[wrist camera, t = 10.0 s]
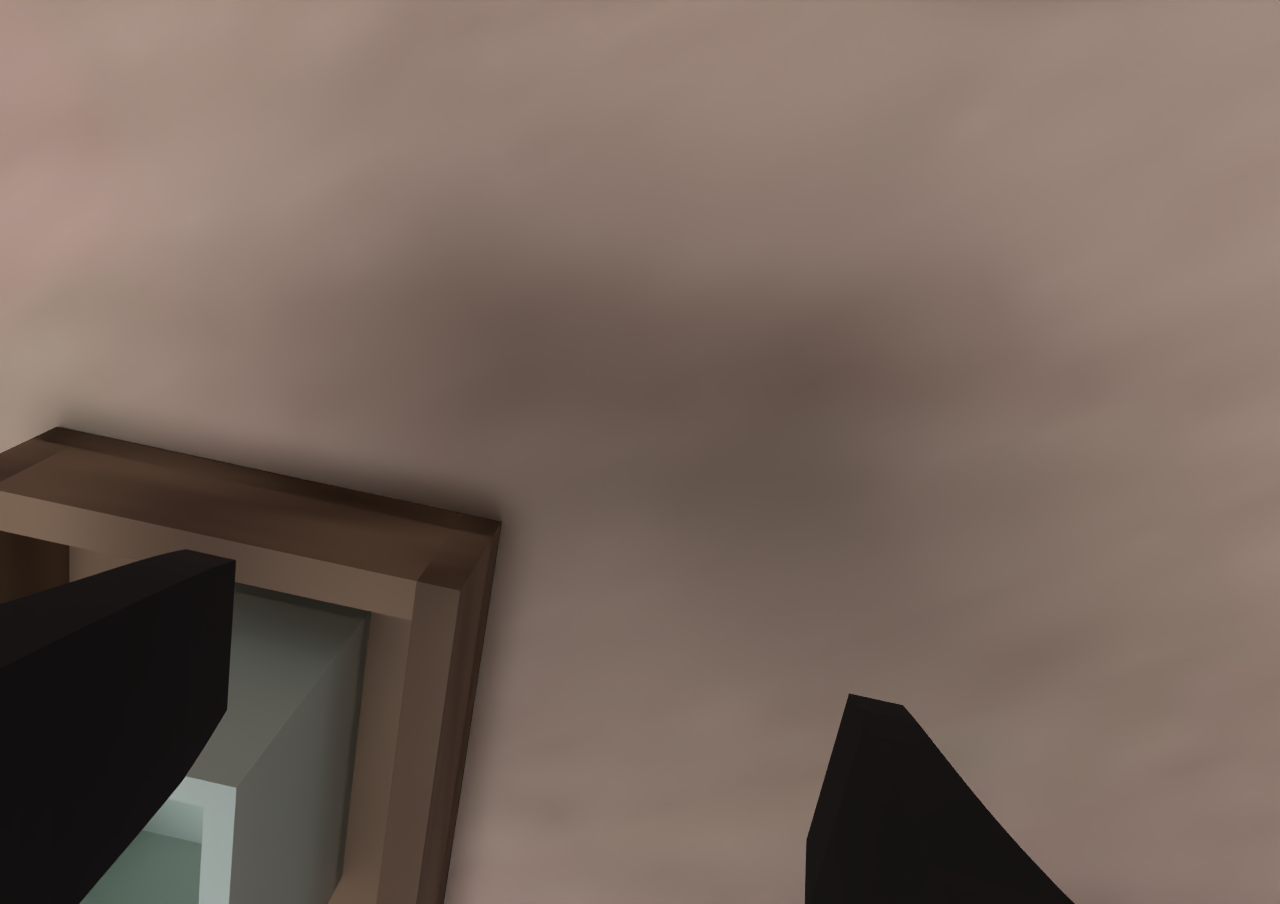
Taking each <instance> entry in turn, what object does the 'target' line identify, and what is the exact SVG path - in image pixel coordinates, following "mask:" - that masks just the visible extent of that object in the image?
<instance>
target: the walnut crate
mask: <svg viewBox="0 0 1280 904" xmlns="http://www.w3.org/2000/svg"><path fill="white" fill-rule="evenodd" d="M500 529H501V522H498V521H493V520H489V519H484V518H479V517H475V516H470V515H465V514H461V513H456V512H451V511H447V510H442V509H437V508H433V507H428V506H423V505H419V504H414V503H409V502H405V501H400V500H395V499H391V498H386V497H381V496H377V495H372V494H367V493H363V492H358V491H353V490H349V489H344V488H339V487H335V486H330V485H325V484H321V483H316V482H311V481H307V480H302V479H297V478H293V477H288V476H283V475H279V474H274V473H269V472H265V471H260V470H255V469H251V468H246V467H241V466H237V465H232V464H227V463H223V462H218V461H213V460H209V459H204V458H199V457H195V456H190V455H185V454H181V453H176V452H171V451H167V450H162V449H157V448H153V447H148V446H143V445H139V444H134V443H129V442H125V441H120V440H115V439H111V438H106V437H101V436H97V435H92V434H87V433H83V432H78V431H73V430H69V429H64V428H59V427H55V428H53V429H51V430H49V431H47V432H45V433H43V434H41V435H38V436H36V437H34V438H32V439H30V440H28V441H26V442H24V443H21V444H19V445H17V446H15V447H13V448H11V449H9V450H7V451H5V452H2V453H0V604H1V603H5V602H8V601H12V600H16V599H19V598H22V597H25V596H29V595H32V594H35V593H38V592H41V591H44V590H47V589H51V588H54V587H57V586H60V585H63V584H66V583H70V582H73V581H76V580H79V579H82V578H85V577H89V576H92V575H95V574H98V573H101V572H104V571H107V570H110V569H114V568H117V567H120V566H123V565H126V564H130V563H133V562H135V561H136V560H137V561H140V560H143V559H146V558H150V557H154V556H157V555H161V554H165V553H169V552H174V551H179V550H184V549H188V550H193V551H197V552H202V553H206V554H211V555H215V556H220V557H225V558H229V559H234V560H236V572H235V582H238V583H243V584H247V585H252V586H256V587H261V588H265V589H270V590H275V591H279V592H284V593H288V594H293V595H297V596H302V597H307V598H311V599H316V600H320V601H325V602H329V603H334V604H339V605H343V606H348V607H352V608H357V609H361V610H366V611H371V618H370V628H369V637H368V646H367V655H366V664H365V673H364V682H363V691H362V700H361V710H360V719H359V728H358V737H357V746H356V755H355V764H354V773H353V782H352V792H351V801H350V810H349V819H348V828H347V837H346V846H345V855H344V864H343V873H342V878H341V880H340V882H339V884H338V885H337V887H336V889H335V891H334V893H333V895H332V897H331V899H330V900H329V902H328V904H443V903H444V897H445V890H446V884H447V877H448V870H449V864H450V857H451V851H452V844H453V838H454V831H455V824H456V818H457V811H458V805H459V798H460V792H461V785H462V778H463V772H464V765H465V759H466V752H467V746H468V739H469V732H470V726H471V719H472V713H473V706H474V700H475V693H476V686H477V680H478V673H479V667H480V660H481V654H482V647H483V640H484V634H485V627H486V621H487V614H488V608H489V601H490V594H491V588H492V581H493V575H494V568H495V561H496V555H497V548H498V542H499V535H500Z"/></svg>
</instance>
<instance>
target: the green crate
mask: <svg viewBox="0 0 1280 904" xmlns="http://www.w3.org/2000/svg"><path fill="white" fill-rule="evenodd" d="M136 561H137V560H136ZM136 561H135V562H136ZM370 618H371V611H366V610H361V609H357V608H352V607H348V606H343V605H339V604H334V603H329V602H325V601H320V600H316V599H311V598H307V597H302V596H297V595H293V594H288V593H284V592H279V591H275V590H270V589H265V588H261V587H256V586H252V585H247V584H243V583H238V582H235V588H234V605H233V621H232V638H231V654H230V671H229V687H228V704H227V711H226V713H225V714H224V716H223V718H222V719H221V721H220V723H219V724H218V726H217V728H216V729H215V731H214V732H213V734H212V736H211V737H210V739H209V741H208V742H207V744H206V746H205V747H204V749H203V750H202V752H201V754H200V755H199V757H198V758H197V760H196V761H195V763H194V764H193V766H192V767H191V769H190V770H189V772H188V773H187V775H186V776H185V778H184V780H183V781H182V782H181V783H180V785H179V786H178V787H177V788H176V790H175V791H174V792H173V793H172V794H171V796H170V797H169V798H168V799H167V801H166V802H165V803H164V804H163V805H162V807H161V808H160V809H159V810H158V811H157V813H156V814H155V815H154V816H153V817H152V819H151V820H150V821H149V822H148V823H147V825H146V826H145V827H144V828H143V829H142V831H141V832H140V833H139V834H138V835H137V837H136V838H135V839H134V840H133V841H132V842H131V844H130V845H129V846H128V847H127V848H126V849H125V851H124V852H123V853H122V854H121V855H120V856H119V858H118V859H117V860H116V861H115V862H114V864H113V865H112V866H111V867H110V868H109V869H108V871H107V872H106V873H105V874H104V875H103V876H102V878H101V879H100V880H99V881H98V882H97V883H96V885H95V886H94V887H93V888H92V889H91V891H90V892H89V893H88V894H87V895H86V896H85V898H84V899H83V900H82V901H81V902H80V903H79V904H328V902H329V900H330V899H331V897H332V895H333V893H334V891H335V889H336V887H337V885H338V884H339V882H340V880H341V878H342V873H343V864H344V855H345V846H346V837H347V828H348V819H349V810H350V801H351V792H352V782H353V773H354V764H355V755H356V746H357V737H358V728H359V719H360V710H361V700H362V691H363V682H364V673H365V664H366V655H367V646H368V637H369V628H370Z"/></svg>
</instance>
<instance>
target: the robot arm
mask: <svg viewBox="0 0 1280 904" xmlns="http://www.w3.org/2000/svg"><path fill="white" fill-rule="evenodd" d="M235 572H236V560H234V559H229V558H225V557H220V556H215V555H211V554H206V553H202V552H197V551H193V550H188V549H184V550H179V551H174V552H169V553H165V554H161V555H157V556H154V557H150V558H146V559H143V560H140V561H136V562H133V563H130V564H126V565H123V566H120V567H117V568H114V569H110V570H107V571H104V572H101V573H98V574H95V575H92V576H89V577H85V578H82V579H79V580H76V581H73V582H70V583H66V584H63V585H60V586H57V587H54V588H51V589H47V590H44V591H41V592H38V593H35V594H32V595H29V596H25V597H22V598H19V599H16V600H12V601H8V602H5V603H1V604H0V904H79V903H80V902H81V901H82V900H83V899H84V898H85V896H86V895H87V894H88V893H89V892H90V891H91V889H92V888H93V887H94V886H95V885H96V883H97V882H98V881H99V880H100V879H101V878H102V876H103V875H104V874H105V873H106V872H107V871H108V869H109V868H110V867H111V866H112V865H113V864H114V862H115V861H116V860H117V859H118V858H119V856H120V855H121V854H122V853H123V852H124V851H125V849H126V848H127V847H128V846H129V845H130V844H131V842H132V841H133V840H134V839H135V838H136V837H137V835H138V834H139V833H140V832H141V831H142V829H143V828H144V827H145V826H146V825H147V823H148V822H149V821H150V820H151V819H152V817H153V816H154V815H155V814H156V813H157V811H158V810H159V809H160V808H161V807H162V805H163V804H164V803H165V802H166V801H167V799H168V798H169V797H170V796H171V794H172V793H173V792H174V791H175V790H176V788H177V787H178V786H179V785H180V783H181V782H182V781H183V780H184V778H185V776H186V775H187V773H188V772H189V770H190V769H191V767H192V766H193V764H194V763H195V761H196V760H197V758H198V757H199V755H200V754H201V752H202V750H203V749H204V747H205V746H206V744H207V742H208V741H209V739H210V737H211V736H212V734H213V732H214V731H215V729H216V728H217V726H218V724H219V723H220V721H221V719H222V718H223V716H224V714H225V713H226V711H227V704H228V687H229V671H230V654H231V638H232V621H233V605H234V588H235ZM805 904H1074V903H1073V902H1072V901H1071V900H1070V899H1069V898H1068V897H1067V896H1066V895H1065V894H1064V893H1063V892H1062V891H1061V890H1060V889H1059V888H1058V887H1057V886H1056V885H1055V884H1054V883H1053V882H1052V880H1051V879H1050V878H1049V877H1048V876H1047V875H1046V874H1045V873H1044V872H1043V871H1042V870H1041V869H1040V868H1039V867H1038V866H1037V865H1036V863H1035V862H1034V861H1033V860H1032V859H1031V858H1030V857H1029V856H1028V855H1027V854H1026V853H1025V852H1024V851H1023V850H1022V849H1021V848H1020V846H1019V845H1018V844H1017V843H1016V842H1015V841H1014V840H1013V839H1012V837H1011V836H1010V835H1009V834H1008V833H1007V832H1006V831H1005V829H1004V828H1003V827H1002V826H1001V825H1000V824H999V823H998V821H997V820H996V819H995V818H994V817H993V816H992V814H991V813H990V812H989V811H988V810H987V809H986V807H985V806H984V805H983V804H982V803H981V801H980V800H979V799H978V798H977V797H976V795H975V794H974V793H973V792H972V790H971V789H970V788H969V787H968V786H967V784H966V783H965V782H964V781H963V779H962V778H961V777H960V776H959V774H958V773H957V772H956V771H955V769H954V768H953V767H952V766H951V764H950V763H949V762H948V761H947V759H946V758H945V757H944V755H943V754H942V753H941V752H940V750H939V749H938V748H937V747H936V745H935V744H934V743H933V741H932V740H931V739H930V738H929V736H928V735H927V734H926V733H925V731H924V730H923V729H922V728H921V726H920V725H919V724H918V723H917V721H916V720H915V719H914V718H913V717H912V715H911V714H910V713H909V712H908V711H907V710H906V708H905V707H904V706H903V705H899V704H895V703H890V702H885V701H881V700H876V699H872V698H867V697H862V696H858V695H853V694H849V696H848V699H847V703H846V706H845V710H844V713H843V716H842V720H841V723H840V727H839V730H838V734H837V737H836V741H835V744H834V747H833V751H832V754H831V758H830V761H829V765H828V768H827V771H826V775H825V778H824V782H823V785H822V789H821V792H820V796H819V799H818V802H817V806H816V809H815V813H814V816H813V820H812V823H811V827H810V830H809V833H808V837H807V844H806V877H805Z"/></svg>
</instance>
